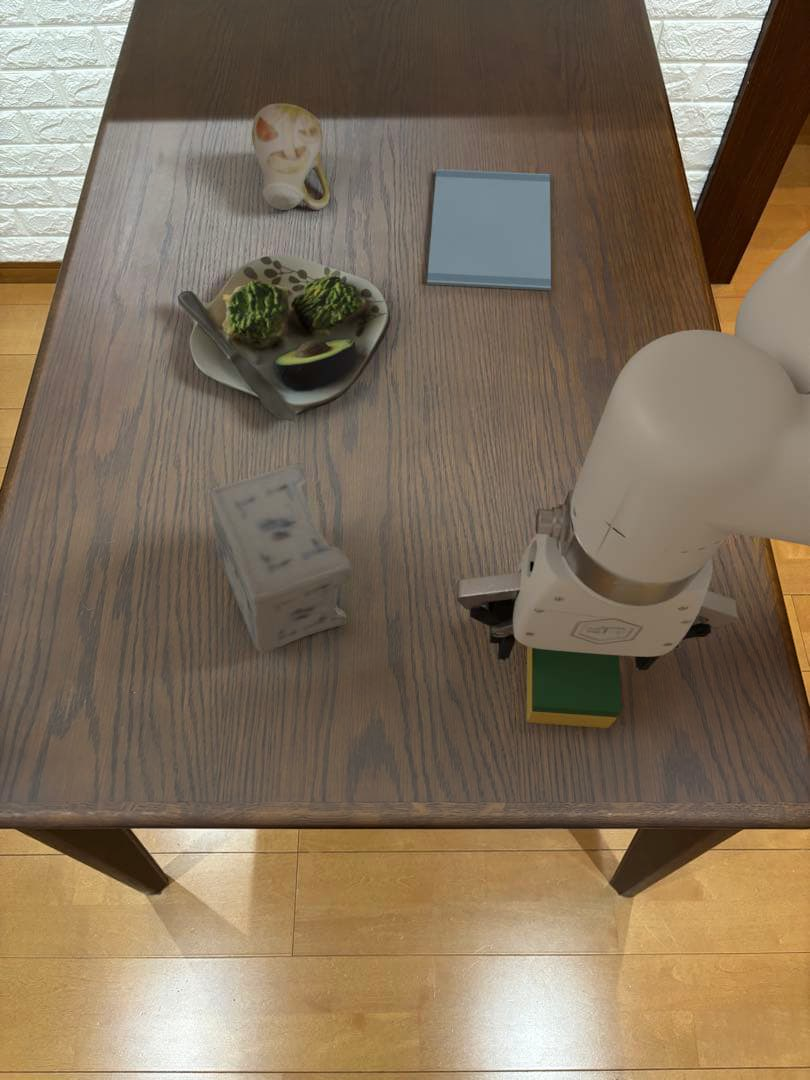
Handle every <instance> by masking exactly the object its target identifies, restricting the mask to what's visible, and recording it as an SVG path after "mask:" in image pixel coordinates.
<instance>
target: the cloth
mask: <svg viewBox="0 0 810 1080" xmlns="http://www.w3.org/2000/svg"><path fill="white" fill-rule="evenodd" d="M434 180H435V181H434V190H433V191H434V193H433V202H432V203H433V204H432V215H431V229H430V241H429V252H428V264H427V274H426V275H427V277H426V285H428V286H429V285H431V286H447V287H448V286H451V287H467V288H468V287H469V288H486V289H489V288H490V289H507V290H508V289H510V290H529V291H546V292H547V291H549V292H551V289H552V272H551V271H552V270H551V269H552V267H551V266H552V265H551V264H552V263H551V261H552V257H551V256H552V255H551V253H552V252H551V251H552V250H551V249H552V248H551V174H550V173H529V172H512V171H511V172H509V171H489V170H486V171H485V170H466V169H465V170H464V169H441V168H436V170H435V179H434Z"/></svg>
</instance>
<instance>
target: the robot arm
mask: <svg viewBox="0 0 810 1080" xmlns="http://www.w3.org/2000/svg"><path fill="white" fill-rule="evenodd" d="M534 528H535V534H534V535H533V537H532V539H530V540H531V541H530V542H529V543H528V545H527V547H526V549H525V551H524V553H523V555H522V557H521V559H520V561H519V564H518V566H517V569H516V571H514V572H506V573H498V574H492V575H485V576H484V575H483V576H477V577H476V576H475V577H469V578H463V579H459V580H457V584H456V601H457V602H458V603H459V604H460V605H461V606H462V607H463V608H464V609H465V610H468V611H469V617H470V618H472V619H474V621H477V622H480V623H482V624H484V625H486V626H487V627H489V644H494V645H496V644H497V649H498V650H497V659H498V660H500V661H506V660H507V659H510V656H511V654H512V652H513V649H514V646H515V644H516V641H517V642H518V643H520V644H521V645H523V646H525V647H527V646H528V647H532V648H537V649H545V650H556V651H568V652H580V653H593V654H607V655H619V656H623V657H634V659H635V660H634V661H635V668H636V669H638V671H645V672H647V671H648V670H649V669H650V668H651V667H652V666H653V664H654V663H655V662H656V661H657V660H658V659H660V657H661V656H665V655H666V654H669V653H670V652H671V651H675V650H679V649H681V647H682V645H681V641H684V640H689V639H694V638H705V637H707V636H709V635H710V634H712V629H713V628H716V629H718V628H721V627H724V626H727V625H730V624H732V623H735V622H738V620H739V614H738V605H737V600H736V599H734V598H732V597H728V596H725V595H722V594H719V593H717V592H714V591H711V590H708V589H709V587H710V583H711V580H712V577H713V570H714V565H713V558H712V557H713V556H714V554H715V553H716V552H717V551H718V550H719V548H720V547H721V546H722V544H724V542H725V541H726V539H728V537H729V536H730V535H731V534H734V535H742V536H747V537H756V538H762V539H769V540H775V541H779V542H780V541H781V542H785V543H786V542H787V543H790V544H796V545H802V546H808V547H810V230H808V231H807V232H805V234H803V235H802V236H801V237H800V238H798V240H796V241H795V242H794V243H793V244H792V245H790V246H789V247H788V248H787V249H786V250H785V251H784V252H782V253H781V254H780V255H778V257H777V258H775V259H774V260H773V261H772V262H771V263H770V265H768V266H767V267H766V268H765V270H764V271H763V272H762V273H761V274H760V275H759V277H757V279H756V280H755V281H754V282H753V284H752V285H751V286H750V287H749V289H748V290H747V292H746V294H745V296H744V298H743V299H742V302H741V304H740V305H739V308H738V311H737V314H736V319H735V325H734V335H733V334H730V333H728V332H723V331H717V330H711V329H689V330H679V331H677V332H672V333H670V334H666V335H663V336H661V337H658V338H655V339H654V340H652V341H651V342H649V343H648V344H646V345H644V346H643V347H641V348H640V349H639V350H638V351H637V352H636V353H634V354H633V355H632V356H631V357H630V359H629V360H628V361H627V362H626V364H625V365H624V366H623V368H622V369H621V370H620V372H619V374H618V376H617V378H616V380H615V382H614V384H613V387H612V389H611V392H610V394H609V397H608V399H607V402H606V404H605V406H604V410H603V412H602V415H601V418H600V420H599V423H598V426H597V427H596V429H595V433H594V435H593V438H592V441H591V443H590V446H589V448H588V451H587V454H586V457H585V459H584V461H583V464H582V466H581V469H580V472H579V475H578V477H577V480H576V482H575V485H574V488H573V489H569V490H568V492H567V494H566V498H565V499H564V502H563V504H562V503H560V504H558V507H557V506H552V507H551V509H547V508H538V509H537V510H536V515H535V527H534Z"/></svg>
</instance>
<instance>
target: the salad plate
mask: <svg viewBox="0 0 810 1080" xmlns="http://www.w3.org/2000/svg"><path fill="white" fill-rule="evenodd" d="M177 302H178V304H179V307H181V309H183V311H184V312H185V313H186V314H187V315H188V317H189V318H190V319H191V321H192V324H193V325H192V326H193V327H192V330H191V334H190V338H189V347H190V352H191V355H192V358H193V361H194V364H195V365H196V367H197V368H198V369H199V370H200V371H201V372H202V373H203V374H204V375H205V376H208V377H210V378H211V379H213V380H214V381H216V382H218V383H220V384H222V385H224V386H226V387H229V388H231V389H235V390H238V391H241V392H242V393H245V394H247V395H251V396H254V397H255V398H257V399H259V402H260V403H261V404H262V405H263V406H264V407H265V408H266V409H267V410H268V411H269V412H270V413H271V414H273V415H274V416H275V417H277V418H278V419H279V420H282V421H291V422H296V419H297V416H298V414H299V413H301V412H304V411H306V410H311V409H314V408H319V407H322V406H325V405H327V404H330V403H332V402H334V401H336V400H338V399H339V398H341V397H342V396H343V395H344V394H345V393H346V392H347V391H348V390H349V389H350V388H351V387H352V386H353V385H354V383H355V382H356V381H357V380H358V378H360V377H361V375H362V374H363V372H364V370H365V369H366V367H367V366H368V364H369V363H370V362H371V360H372V359H373V357H374V355H375V354H376V351H377V350H378V348H379V347H380V345H381V344H382V342H383V340H384V339H385V336H386V333H387V331H388V329H389V327H390V324H391V313H390V308H389V307H388V303H387V301H386V299H385V297H384V296H383V294H382V292H381V291H380V289H379V288H378V287H377V286H376V285H375V284H374V283H373V282H371V281H368V280H367V279H365V278H362V277H360V276H357V275H354V274H352V273H348V272H345V271H342V270H340V269H335V268H331V267H330V266H327V265H323V264H320V263H318V262H315V261H314V260H309V259H306V258H303V257H301V256H296V255H294V254H289V253H271V254H266V255H262V256H259V257H256V258H253V259H250V260H248V261H247V262H245V263H243V264H241V265H240V267H238V268H237V269H236V270H235V272H233V274H231V276H230V277H229V279H228V280H227V282H226V283H225V285H223V287H222V288H221V290H220V291H219V293H218V294H217V295H216V296H215V297H214V299H212V300H210V301H208V302H205V301H203V300H202V299H200V298H199V296H198V295H197V294H196V293H195V292H193V291H191V290H184V291H182V292H181V293H180V294H178V296H177Z"/></svg>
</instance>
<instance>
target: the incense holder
mask: <svg viewBox="0 0 810 1080" xmlns="http://www.w3.org/2000/svg"><path fill="white" fill-rule="evenodd" d="M307 482H309V476H308V473H307V472H306V469H305V467H304V465H303V464H302V463H301V462H298V463H293V464H290V465H289V464H288V465H285V466H282V467H279V468H276V469H273V470H269V471H267V472H263V473H259V474H256V475H253V476H250V477H248V478H244V479H239V480H236V481H233V482H231V483H230V482H229V483H227V484H224V485H221V486H217V487H216V486H215V487H212V488H211V489H210V492H209V495H208V496H209V502H210V509H211V515H212V519H213V520H212V523H213V529H214V537H215V539H214V541H215V550H216V554H217V557H218V560H219V563H220V566H221V567H222V569H223V571H224V574H225V575H226V578H227V580H228V583H229V585H230V588H231V590H232V592H233V595H234V597H235V600H236V603H237V605H238V608H239V610H240V612H241V615H242V617H243V620H244V623H245V626H246V628H247V631H248V633H249V636H250V639H251V641H252V644H253V646H254V648H255V649H256V650H257V651H258V652H259V653H260V654H267V653H269V652H272V651H273V650H275V649H279V648H280V647H283V646H286V645H288V644H290V643H292V642H294V641H299V640H300V639H302V638H305V637H307V636H311V635H314V634H316V633H321V632H324V631H326V630H330V629H334V628H337V627H342V626H345V625H347V622H348V616H347V613H346V612H345V611H344V610H343V609H341V608H340V607H338V605H337V601H338V590H339V588H340V587H341V586H343V585H345V584H347V583H348V582H349V581H350V580H351V577H352V565H351V562H350V560H349V558H348V556H347V554H346V553H345V552H344V551H342V550H341V549H340V548H339V547H338V546H331V545H330V544H329V543H328V542H327V540H326V538H325V537H324V535H323V534H322V532H321V530H320V527H319V525H318V523H317V520H316V518H315V517H314V514H313V513H314V512H313V511H312V509H311V506H310V504H309V503H308V501H307V499H306V498H305V495H304V493H303V487H304V485H306V483H307Z"/></svg>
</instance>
